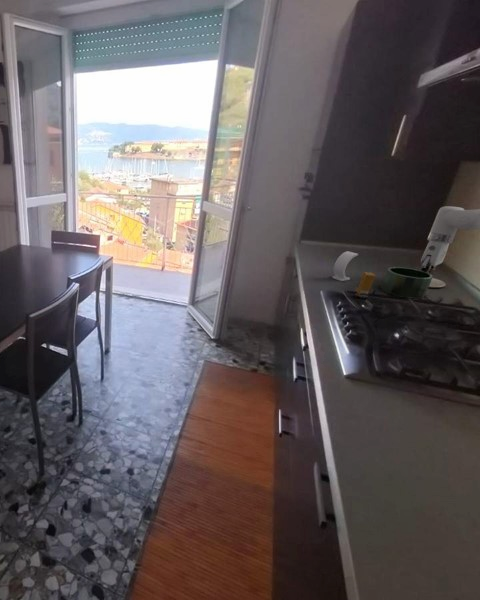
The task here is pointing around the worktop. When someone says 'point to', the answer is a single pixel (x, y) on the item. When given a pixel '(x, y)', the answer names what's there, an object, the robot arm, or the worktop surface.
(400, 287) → the lunch tin
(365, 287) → the supplement box
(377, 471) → the worktop surface
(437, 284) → the tin lid
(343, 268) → the headphone stand
